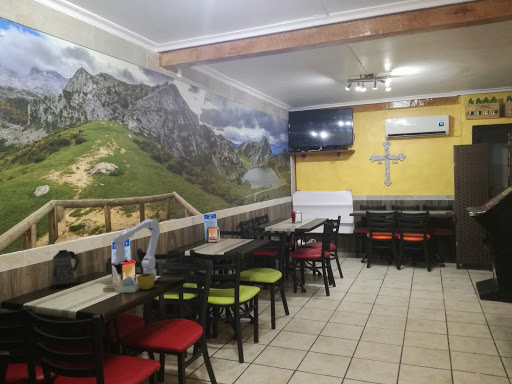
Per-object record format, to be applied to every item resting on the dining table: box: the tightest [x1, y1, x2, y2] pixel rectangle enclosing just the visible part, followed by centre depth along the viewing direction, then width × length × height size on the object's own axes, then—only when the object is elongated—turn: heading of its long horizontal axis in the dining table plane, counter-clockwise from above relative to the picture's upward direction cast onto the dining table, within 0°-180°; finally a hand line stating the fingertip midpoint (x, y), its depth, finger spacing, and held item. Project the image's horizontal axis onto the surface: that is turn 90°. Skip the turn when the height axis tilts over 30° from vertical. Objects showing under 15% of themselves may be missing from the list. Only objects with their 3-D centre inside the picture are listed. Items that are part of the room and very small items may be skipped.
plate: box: [122, 277, 135, 285], centre depth 258 cm, size 1×7×7 cm, turn 83°
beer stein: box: [50, 249, 81, 289], centre depth 282 cm, size 16×19×25 cm
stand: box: [102, 284, 121, 293], centre depth 260 cm, size 6×9×3 cm
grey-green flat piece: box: [116, 282, 141, 294], centre depth 259 cm, size 11×13×3 cm
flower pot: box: [136, 272, 155, 290], centre depth 259 cm, size 9×9×9 cm
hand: (121, 272), depth 263 cm, fingers open, 7 cm apart
